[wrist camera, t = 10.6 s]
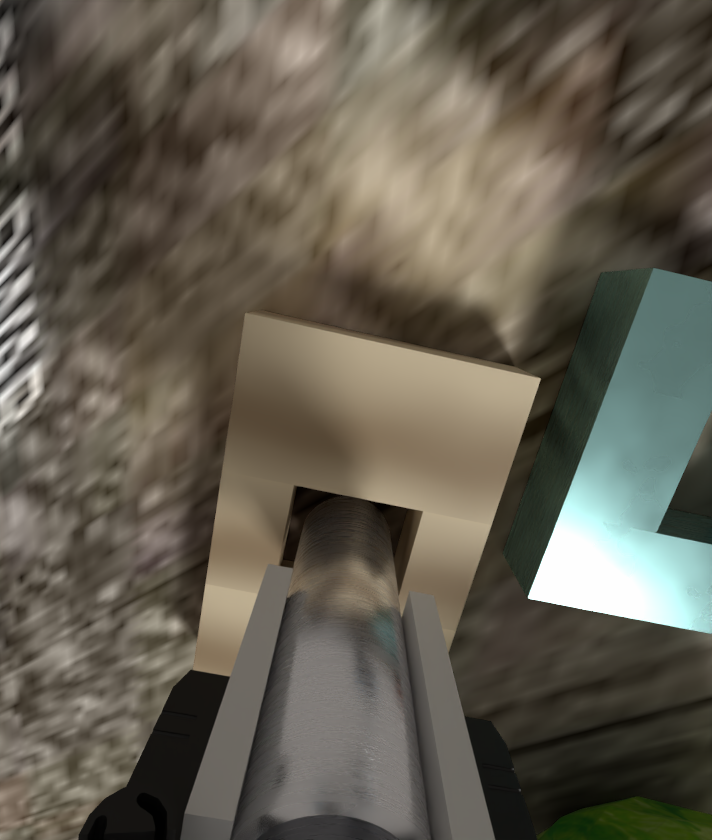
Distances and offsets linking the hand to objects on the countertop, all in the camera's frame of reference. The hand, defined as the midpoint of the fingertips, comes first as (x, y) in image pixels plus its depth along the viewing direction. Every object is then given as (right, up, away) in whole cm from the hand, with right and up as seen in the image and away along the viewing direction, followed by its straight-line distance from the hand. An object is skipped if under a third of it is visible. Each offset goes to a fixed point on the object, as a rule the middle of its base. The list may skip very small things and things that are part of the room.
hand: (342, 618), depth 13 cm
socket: (+14, +5, +5) cm, 15 cm away
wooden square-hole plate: (0, +2, +6) cm, 6 cm away
